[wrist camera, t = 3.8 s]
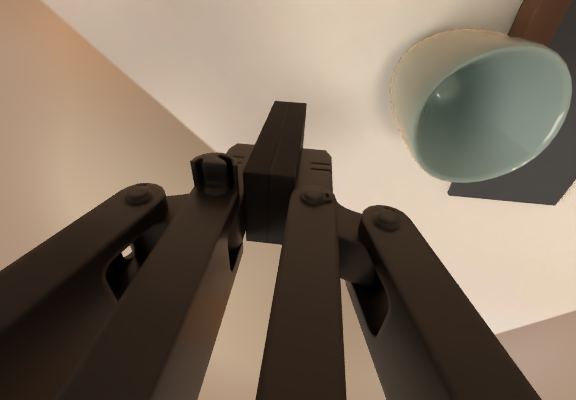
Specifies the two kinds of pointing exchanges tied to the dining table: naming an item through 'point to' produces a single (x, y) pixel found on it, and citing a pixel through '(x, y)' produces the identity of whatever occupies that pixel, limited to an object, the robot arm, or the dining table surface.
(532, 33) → the stop bar
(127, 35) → the dining table surface
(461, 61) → the cup
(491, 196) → the mat
